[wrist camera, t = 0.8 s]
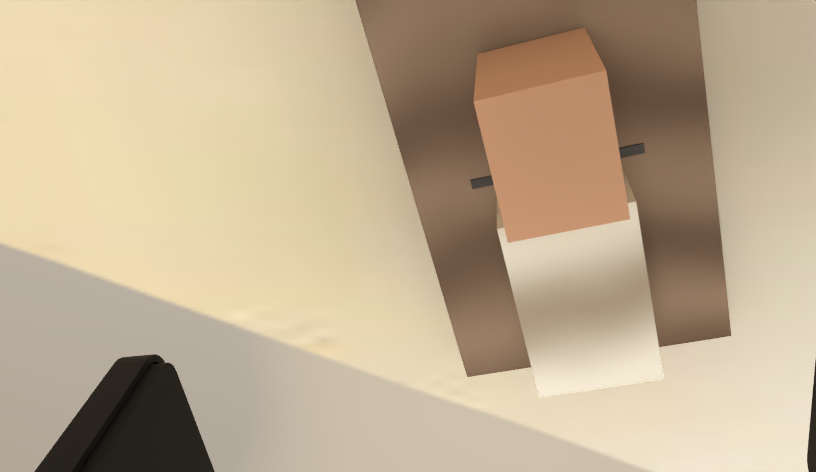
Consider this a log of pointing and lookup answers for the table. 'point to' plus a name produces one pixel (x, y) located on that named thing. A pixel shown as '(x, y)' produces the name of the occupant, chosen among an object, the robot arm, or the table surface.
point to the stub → (550, 136)
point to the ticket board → (639, 112)
